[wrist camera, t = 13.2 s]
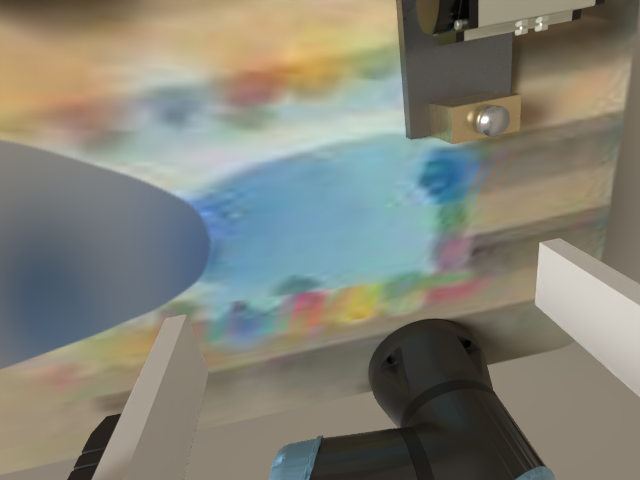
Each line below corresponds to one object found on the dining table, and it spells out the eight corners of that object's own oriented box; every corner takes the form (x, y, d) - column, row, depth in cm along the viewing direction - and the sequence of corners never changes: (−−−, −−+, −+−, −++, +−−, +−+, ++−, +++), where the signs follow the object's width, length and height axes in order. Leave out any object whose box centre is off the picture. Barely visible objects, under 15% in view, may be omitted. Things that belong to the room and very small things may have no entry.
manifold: (501, 118, 39) (553, 128, 31) (406, 137, 38) (436, 151, 31) (508, -153, 30) (582, -226, 23) (386, -131, 30) (421, -198, 23)
